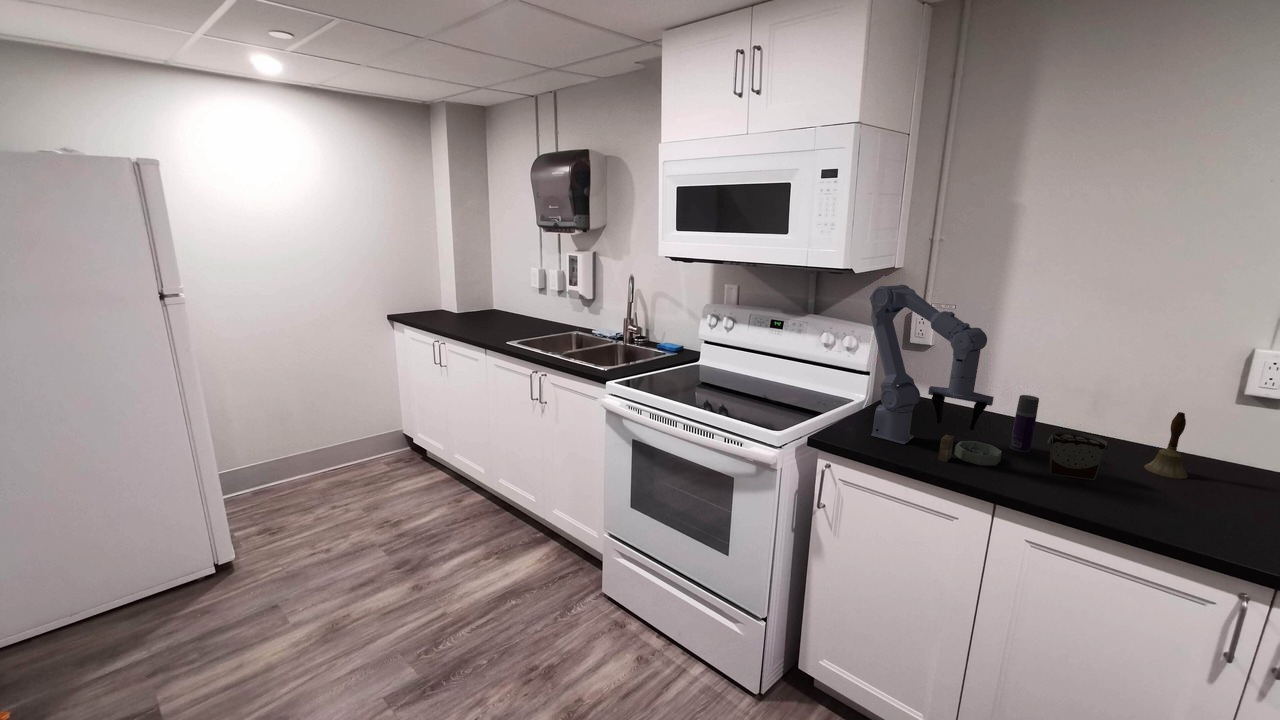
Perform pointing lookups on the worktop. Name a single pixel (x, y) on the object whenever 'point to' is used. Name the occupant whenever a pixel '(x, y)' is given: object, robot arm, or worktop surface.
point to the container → (1024, 423)
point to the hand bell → (1170, 453)
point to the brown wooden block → (946, 448)
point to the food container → (1076, 454)
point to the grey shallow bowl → (978, 453)
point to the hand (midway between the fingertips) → (955, 425)
